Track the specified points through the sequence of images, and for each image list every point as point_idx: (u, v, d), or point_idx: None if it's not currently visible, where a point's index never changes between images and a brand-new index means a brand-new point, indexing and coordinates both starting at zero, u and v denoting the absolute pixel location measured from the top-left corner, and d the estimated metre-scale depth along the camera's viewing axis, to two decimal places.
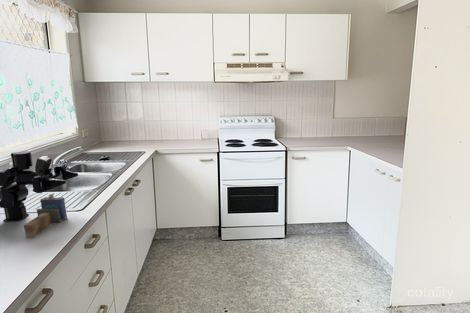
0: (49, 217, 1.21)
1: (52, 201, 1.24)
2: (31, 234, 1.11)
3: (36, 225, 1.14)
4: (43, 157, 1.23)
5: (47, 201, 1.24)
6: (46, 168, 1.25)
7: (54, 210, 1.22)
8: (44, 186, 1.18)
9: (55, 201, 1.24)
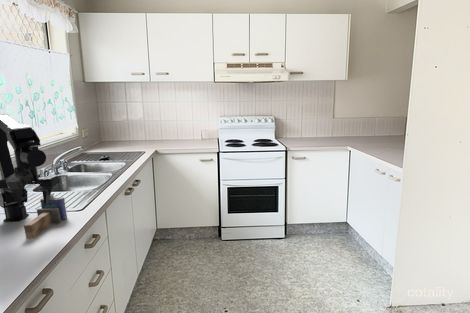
0: (49, 217, 1.21)
1: (52, 201, 1.24)
2: (31, 234, 1.11)
3: (36, 225, 1.14)
4: (13, 184, 1.04)
5: None
6: None
7: (54, 210, 1.22)
8: None
9: (55, 201, 1.24)
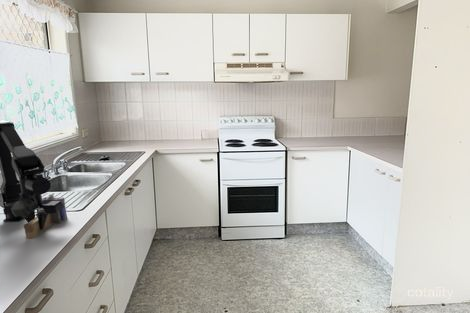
0: (49, 217, 1.21)
1: None
2: (31, 234, 1.11)
3: (36, 225, 1.14)
4: (18, 211, 1.06)
5: (47, 201, 1.24)
6: None
7: None
8: None
9: None
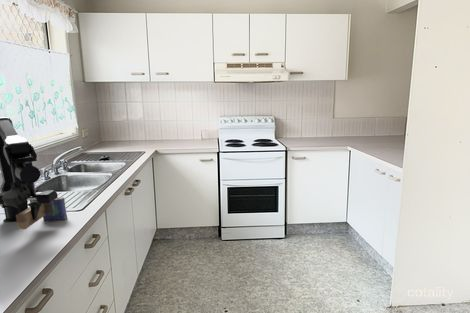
0: (42, 208, 1.17)
1: None
2: (23, 225, 1.07)
3: (29, 215, 1.10)
4: (9, 200, 1.02)
5: None
6: None
7: None
8: None
9: (55, 201, 1.24)
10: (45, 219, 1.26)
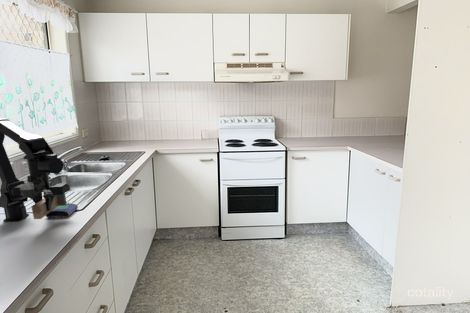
0: (55, 199, 1.26)
1: None
2: (38, 215, 1.16)
3: (43, 207, 1.18)
4: (26, 191, 1.10)
5: None
6: None
7: None
8: None
9: (70, 204, 1.36)
10: None
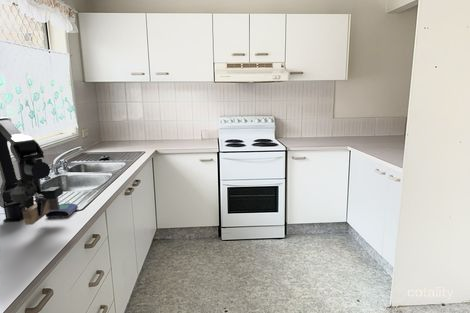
0: (48, 203, 1.21)
1: None
2: (30, 221, 1.11)
3: (35, 212, 1.13)
4: (17, 196, 1.05)
5: (63, 204, 1.36)
6: None
7: None
8: None
9: (70, 204, 1.36)
10: None
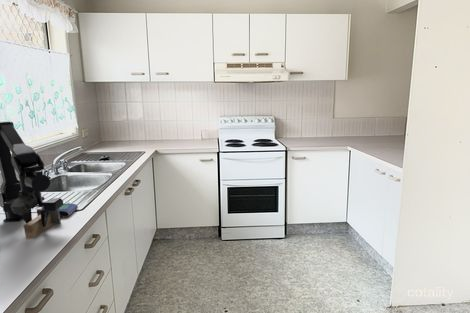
0: (49, 217, 1.21)
1: None
2: (30, 235, 1.11)
3: (36, 225, 1.13)
4: (17, 208, 1.06)
5: None
6: None
7: None
8: None
9: (70, 204, 1.36)
10: None
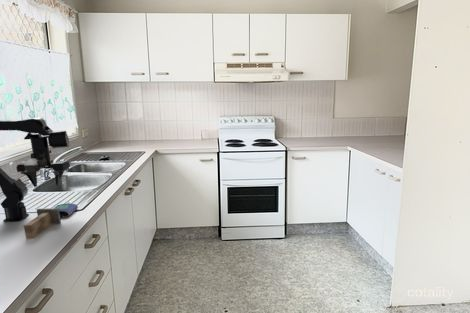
0: (49, 217, 1.21)
1: None
2: (30, 235, 1.11)
3: (36, 225, 1.13)
4: (30, 167, 1.20)
5: (63, 204, 1.36)
6: None
7: (54, 210, 1.22)
8: None
9: (70, 204, 1.36)
10: None
